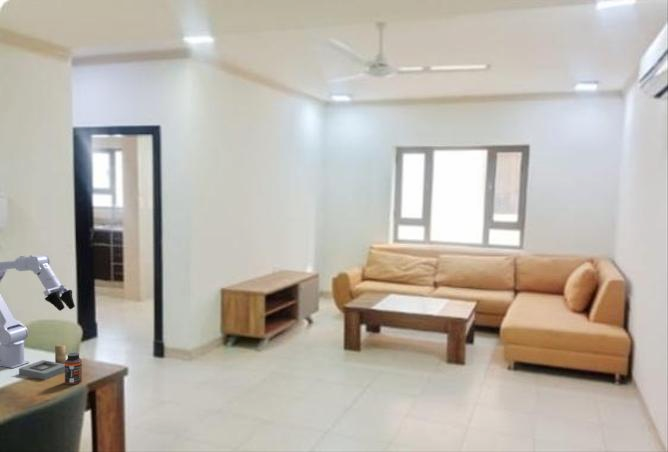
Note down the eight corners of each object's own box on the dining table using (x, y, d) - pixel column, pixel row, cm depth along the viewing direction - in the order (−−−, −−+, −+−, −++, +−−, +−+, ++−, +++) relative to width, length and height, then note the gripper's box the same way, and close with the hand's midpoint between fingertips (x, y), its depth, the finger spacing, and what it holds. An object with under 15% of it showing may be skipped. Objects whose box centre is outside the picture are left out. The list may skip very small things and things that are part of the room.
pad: (34, 370, 214) (34, 368, 214) (44, 366, 219) (44, 364, 219) (43, 371, 213) (43, 370, 213) (53, 368, 217) (53, 366, 217)
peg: (53, 365, 225) (52, 346, 224) (61, 362, 229) (60, 343, 228) (60, 366, 223) (59, 347, 223) (68, 363, 227) (67, 345, 226)
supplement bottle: (75, 386, 203) (74, 357, 202) (61, 384, 204) (61, 355, 203) (85, 380, 209) (85, 352, 208) (72, 379, 210) (71, 351, 209)
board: (19, 374, 213) (18, 367, 213) (42, 365, 224) (42, 359, 223) (45, 379, 208) (44, 372, 208) (68, 370, 219) (67, 364, 218)
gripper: (47, 275, 209) (65, 304, 208) (67, 275, 224) (84, 301, 222) (32, 285, 209) (50, 314, 208) (54, 284, 224) (71, 311, 222)
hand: (67, 308), depth 215 cm, fingers open, 7 cm apart
